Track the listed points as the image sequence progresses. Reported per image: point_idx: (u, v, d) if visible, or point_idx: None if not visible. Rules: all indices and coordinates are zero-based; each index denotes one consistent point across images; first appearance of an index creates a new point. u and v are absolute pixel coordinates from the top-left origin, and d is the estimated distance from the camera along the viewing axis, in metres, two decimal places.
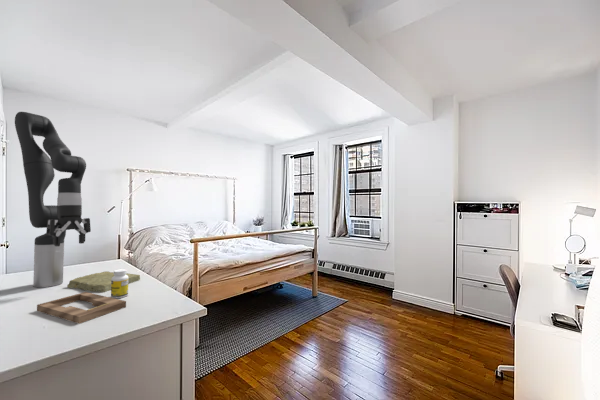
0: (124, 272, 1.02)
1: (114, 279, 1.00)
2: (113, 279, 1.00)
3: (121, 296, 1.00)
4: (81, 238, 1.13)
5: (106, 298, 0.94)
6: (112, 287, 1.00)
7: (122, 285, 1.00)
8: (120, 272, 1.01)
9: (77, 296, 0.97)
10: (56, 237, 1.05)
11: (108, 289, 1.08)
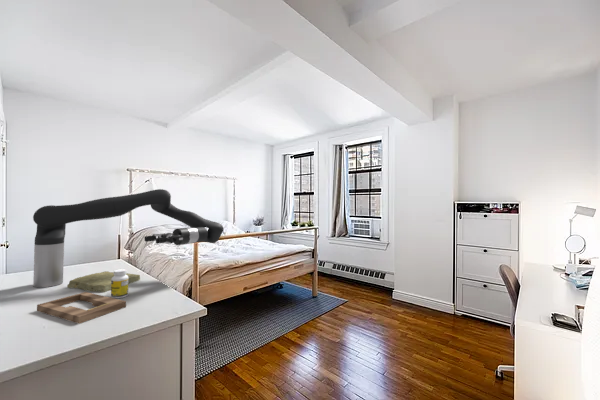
0: (124, 272, 1.02)
1: (114, 279, 1.00)
2: (113, 279, 1.00)
3: (121, 296, 1.00)
4: (150, 239, 1.15)
5: (106, 298, 0.94)
6: (112, 287, 1.00)
7: (122, 285, 1.00)
8: (120, 272, 1.01)
9: (77, 296, 0.97)
10: (165, 241, 1.12)
11: (108, 289, 1.08)
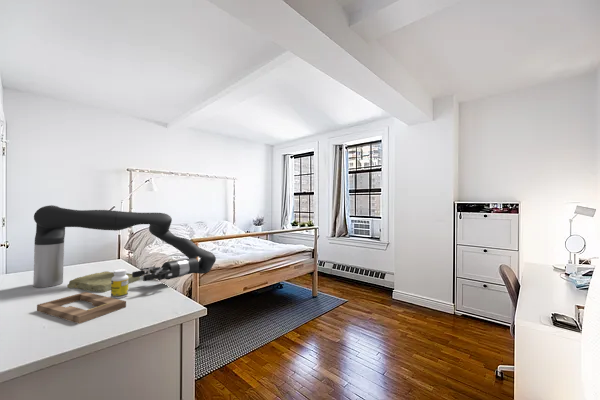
0: (124, 272, 1.02)
1: (114, 279, 1.00)
2: (113, 279, 1.00)
3: (121, 296, 1.00)
4: (138, 275, 1.12)
5: (106, 298, 0.94)
6: (112, 287, 1.00)
7: (122, 285, 1.00)
8: (120, 272, 1.01)
9: (77, 296, 0.97)
10: (153, 278, 1.08)
11: (108, 289, 1.08)
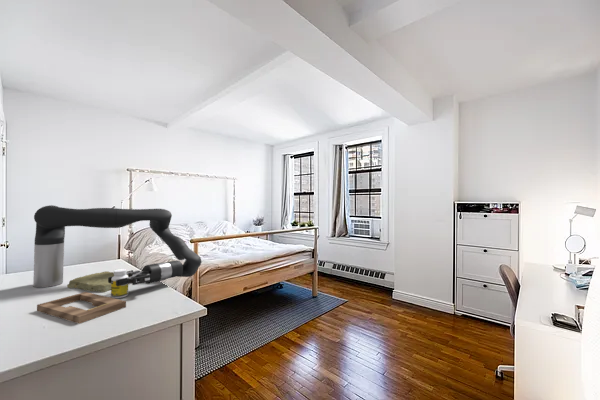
0: (124, 272, 1.02)
1: (114, 279, 1.00)
2: (113, 279, 1.00)
3: (121, 296, 1.00)
4: None
5: (106, 298, 0.94)
6: (112, 287, 1.00)
7: None
8: (120, 272, 1.01)
9: (77, 296, 0.97)
10: None
11: (108, 289, 1.08)
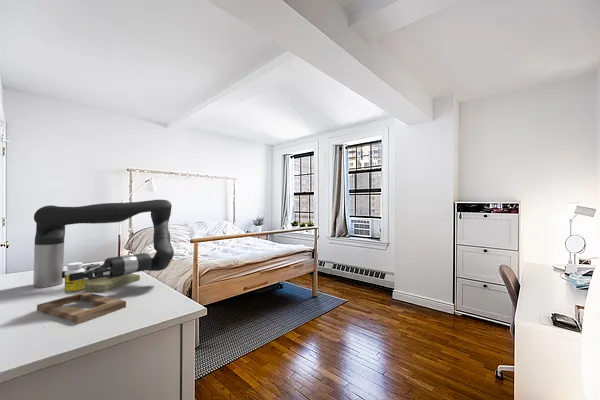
0: (79, 265, 0.91)
1: (67, 273, 0.89)
2: (66, 273, 0.89)
3: (76, 292, 0.90)
4: None
5: (106, 298, 0.94)
6: (65, 282, 0.90)
7: None
8: (74, 265, 0.90)
9: (77, 296, 0.97)
10: (82, 277, 0.91)
11: (108, 289, 1.08)
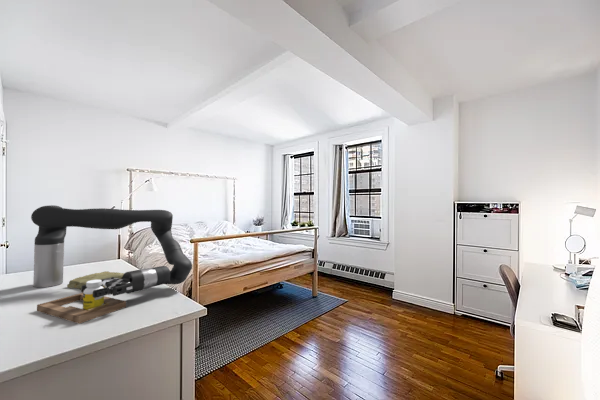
0: (98, 283, 0.87)
1: (86, 292, 0.85)
2: (85, 292, 0.85)
3: None
4: None
5: (106, 298, 0.94)
6: (84, 301, 0.86)
7: (96, 298, 0.86)
8: (93, 283, 0.86)
9: (77, 296, 0.97)
10: (106, 294, 0.86)
11: None
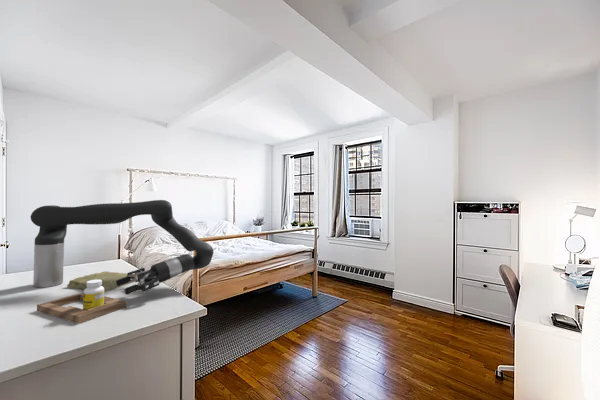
0: (99, 283, 0.87)
1: (86, 292, 0.85)
2: (85, 292, 0.86)
3: None
4: (123, 282, 1.00)
5: (106, 298, 0.94)
6: (84, 301, 0.86)
7: (96, 298, 0.86)
8: (94, 283, 0.86)
9: (77, 296, 0.97)
10: None
11: (108, 289, 1.08)
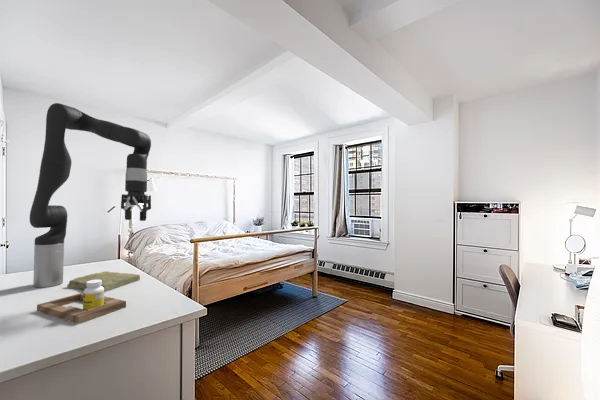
0: (98, 283, 0.87)
1: (86, 292, 0.85)
2: (85, 292, 0.85)
3: None
4: (130, 214, 1.12)
5: (106, 298, 0.94)
6: (84, 301, 0.86)
7: (96, 298, 0.86)
8: (93, 283, 0.86)
9: (77, 296, 0.97)
10: None
11: (108, 289, 1.08)
